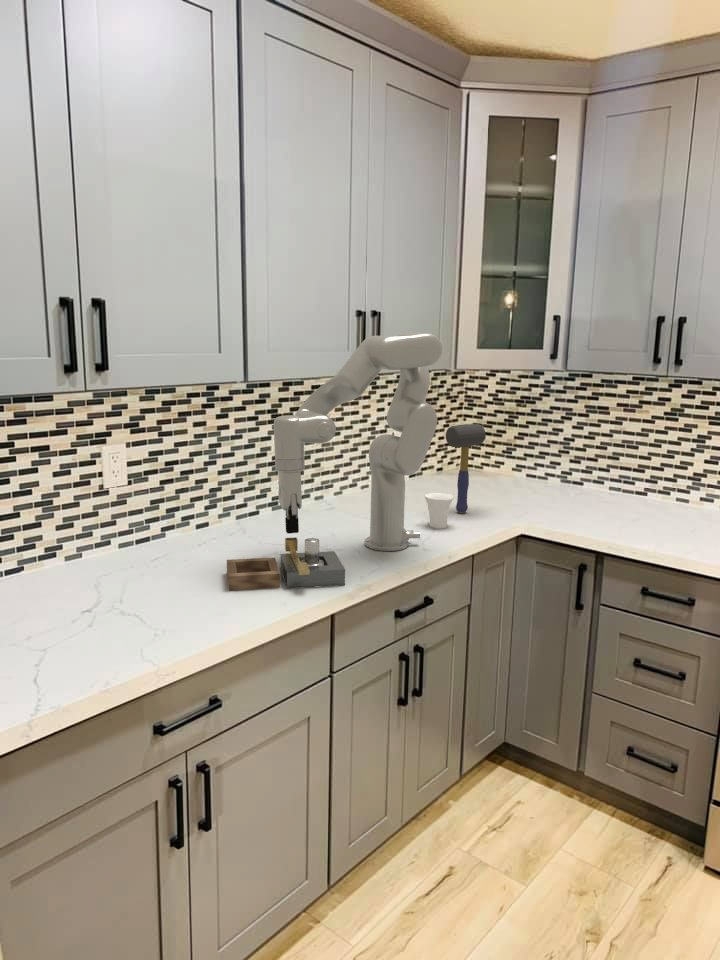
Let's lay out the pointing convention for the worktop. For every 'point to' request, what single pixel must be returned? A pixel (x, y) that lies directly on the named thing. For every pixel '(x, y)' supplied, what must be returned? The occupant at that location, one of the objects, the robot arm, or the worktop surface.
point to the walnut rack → (253, 573)
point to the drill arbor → (312, 552)
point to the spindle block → (313, 571)
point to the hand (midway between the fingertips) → (292, 532)
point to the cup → (438, 509)
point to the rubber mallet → (464, 455)
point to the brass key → (296, 556)
